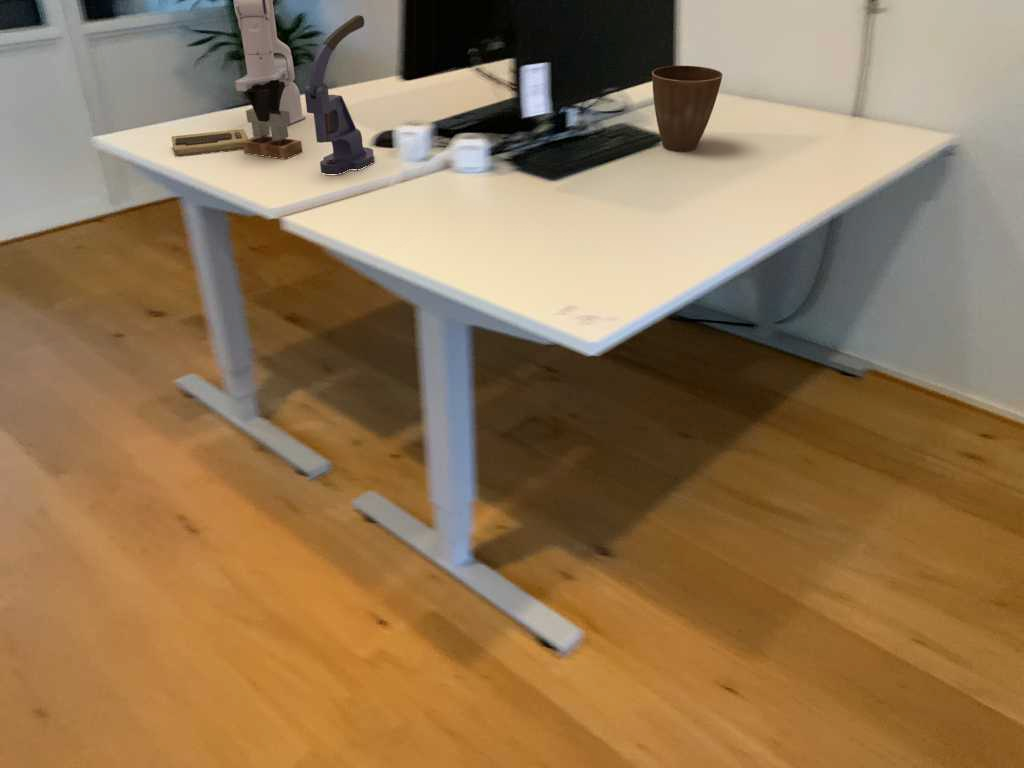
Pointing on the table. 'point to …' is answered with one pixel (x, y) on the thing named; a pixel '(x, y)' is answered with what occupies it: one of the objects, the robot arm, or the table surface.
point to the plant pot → (684, 103)
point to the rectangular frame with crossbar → (272, 147)
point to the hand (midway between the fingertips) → (268, 119)
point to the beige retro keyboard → (208, 142)
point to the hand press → (335, 111)
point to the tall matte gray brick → (275, 120)
